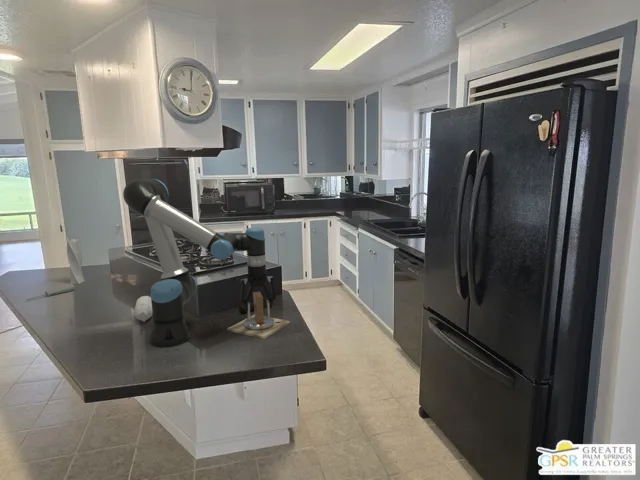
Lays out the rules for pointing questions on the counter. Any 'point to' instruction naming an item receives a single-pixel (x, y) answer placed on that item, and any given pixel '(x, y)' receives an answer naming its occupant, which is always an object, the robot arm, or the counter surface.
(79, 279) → the skyscraper
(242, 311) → the hand tool
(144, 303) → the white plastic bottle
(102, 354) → the counter surface
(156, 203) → the robot arm
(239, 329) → the dial plate
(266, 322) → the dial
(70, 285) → the screwdriver
